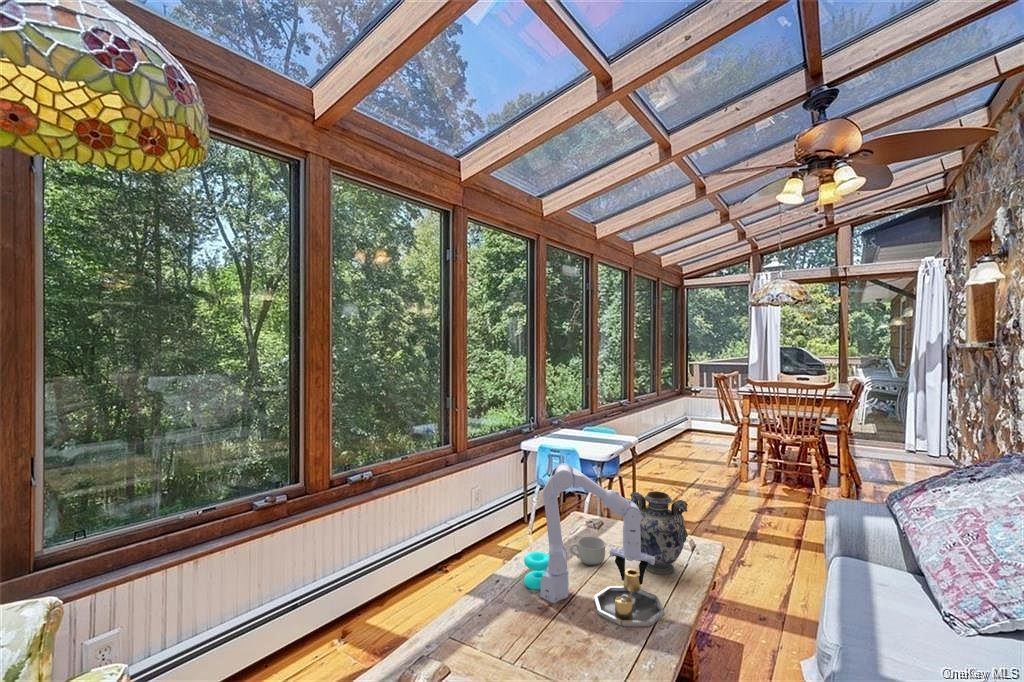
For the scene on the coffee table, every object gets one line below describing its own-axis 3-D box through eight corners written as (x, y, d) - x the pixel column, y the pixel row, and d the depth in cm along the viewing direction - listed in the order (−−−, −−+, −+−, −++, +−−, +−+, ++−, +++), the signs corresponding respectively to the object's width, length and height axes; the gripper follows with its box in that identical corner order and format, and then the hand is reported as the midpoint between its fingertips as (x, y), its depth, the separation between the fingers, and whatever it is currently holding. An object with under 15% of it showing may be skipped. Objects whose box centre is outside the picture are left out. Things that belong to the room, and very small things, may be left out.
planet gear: (622, 589, 155) (622, 574, 155) (626, 582, 160) (626, 567, 160) (638, 593, 153) (638, 577, 153) (641, 585, 158) (641, 570, 158)
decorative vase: (693, 563, 181) (692, 491, 180) (684, 586, 165) (682, 507, 164) (638, 551, 192) (636, 483, 191) (624, 572, 176) (622, 497, 175)
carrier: (639, 639, 136) (639, 616, 136) (581, 609, 151) (581, 589, 151) (674, 609, 151) (674, 589, 151) (618, 585, 166) (618, 566, 166)
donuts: (536, 566, 160) (518, 555, 168) (536, 595, 160) (518, 583, 168) (558, 557, 166) (539, 547, 174) (558, 586, 166) (540, 574, 174)
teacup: (604, 556, 188) (604, 536, 188) (607, 569, 178) (606, 548, 178) (569, 555, 190) (569, 535, 190) (570, 568, 179) (569, 547, 179)
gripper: (607, 541, 156) (607, 582, 156) (652, 549, 150) (652, 591, 150) (612, 533, 162) (612, 572, 162) (655, 540, 156) (656, 581, 156)
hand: (632, 581), depth 157 cm, fingers closed on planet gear, 5 cm apart
